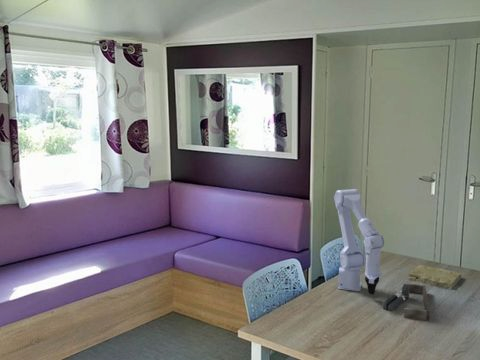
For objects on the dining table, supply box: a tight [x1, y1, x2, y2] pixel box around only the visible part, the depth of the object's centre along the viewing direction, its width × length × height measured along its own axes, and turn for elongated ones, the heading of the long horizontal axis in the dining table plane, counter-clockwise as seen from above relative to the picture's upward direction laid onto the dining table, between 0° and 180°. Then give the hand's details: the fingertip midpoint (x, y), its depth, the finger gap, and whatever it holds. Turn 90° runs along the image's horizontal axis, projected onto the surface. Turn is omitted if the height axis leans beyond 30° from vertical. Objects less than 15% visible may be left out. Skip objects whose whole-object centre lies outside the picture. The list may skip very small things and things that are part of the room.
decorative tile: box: [407, 264, 462, 290], centre depth 230 cm, size 19×20×4 cm
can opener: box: [382, 284, 411, 312], centre depth 203 cm, size 19×5×6 cm, turn 139°
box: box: [402, 282, 430, 321], centre depth 201 cm, size 9×28×4 cm, turn 163°
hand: (371, 293), depth 206 cm, fingers closed
